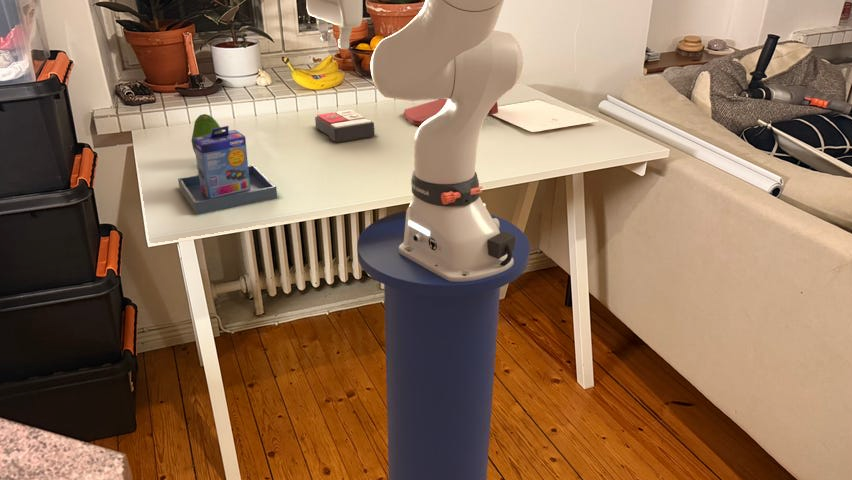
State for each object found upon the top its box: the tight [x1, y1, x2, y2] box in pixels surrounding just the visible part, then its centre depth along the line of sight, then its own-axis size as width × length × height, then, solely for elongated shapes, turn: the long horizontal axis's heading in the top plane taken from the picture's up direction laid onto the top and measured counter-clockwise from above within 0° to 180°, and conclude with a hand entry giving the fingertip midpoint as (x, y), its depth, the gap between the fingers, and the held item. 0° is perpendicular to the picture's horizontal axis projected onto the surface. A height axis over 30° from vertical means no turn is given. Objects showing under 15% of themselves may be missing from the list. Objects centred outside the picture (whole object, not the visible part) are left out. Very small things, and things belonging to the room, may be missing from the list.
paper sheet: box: [488, 99, 600, 133], centre depth 194 cm, size 24×29×1 cm
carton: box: [403, 99, 499, 127], centre depth 196 cm, size 12×5×25 cm
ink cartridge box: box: [193, 125, 250, 199], centre depth 147 cm, size 10×6×14 cm, turn 124°
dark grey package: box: [314, 109, 375, 143], centre depth 185 cm, size 11×4×15 cm
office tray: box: [177, 164, 278, 215], centre depth 150 cm, size 15×17×2 cm
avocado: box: [191, 113, 224, 153], centre depth 164 cm, size 8×8×12 cm
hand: (334, 44), depth 143 cm, fingers open, 8 cm apart
